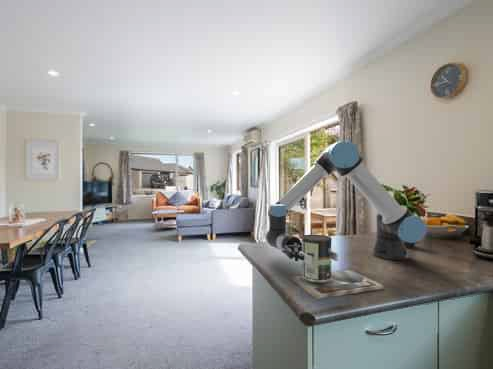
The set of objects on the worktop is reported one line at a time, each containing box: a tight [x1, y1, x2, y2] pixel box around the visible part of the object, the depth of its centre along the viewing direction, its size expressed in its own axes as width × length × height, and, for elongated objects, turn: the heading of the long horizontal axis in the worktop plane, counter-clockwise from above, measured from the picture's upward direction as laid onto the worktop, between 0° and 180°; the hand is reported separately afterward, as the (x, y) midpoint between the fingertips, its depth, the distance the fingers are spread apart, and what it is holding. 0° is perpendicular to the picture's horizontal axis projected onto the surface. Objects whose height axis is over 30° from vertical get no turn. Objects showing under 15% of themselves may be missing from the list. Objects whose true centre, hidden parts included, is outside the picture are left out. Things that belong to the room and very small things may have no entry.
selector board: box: [291, 269, 384, 300], centre depth 92 cm, size 26×16×2 cm, turn 109°
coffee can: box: [300, 234, 332, 282], centre depth 92 cm, size 10×10×14 cm
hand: (324, 258), depth 88 cm, fingers open, 10 cm apart
